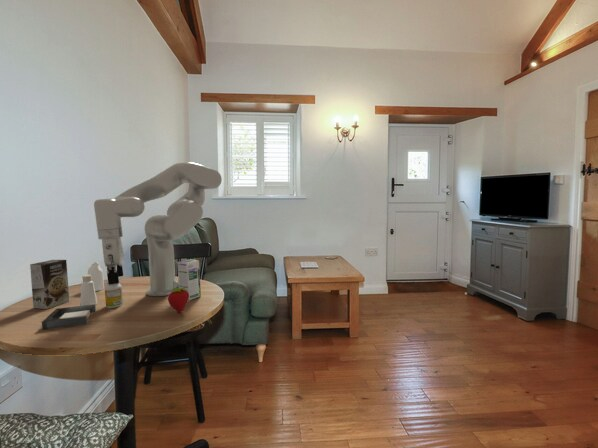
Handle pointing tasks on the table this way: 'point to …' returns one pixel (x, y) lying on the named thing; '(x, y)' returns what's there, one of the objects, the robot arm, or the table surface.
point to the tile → (76, 314)
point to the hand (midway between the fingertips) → (116, 280)
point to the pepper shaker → (87, 291)
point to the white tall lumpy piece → (96, 276)
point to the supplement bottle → (113, 295)
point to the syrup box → (189, 277)
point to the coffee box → (49, 283)
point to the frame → (54, 322)
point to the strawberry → (178, 299)
